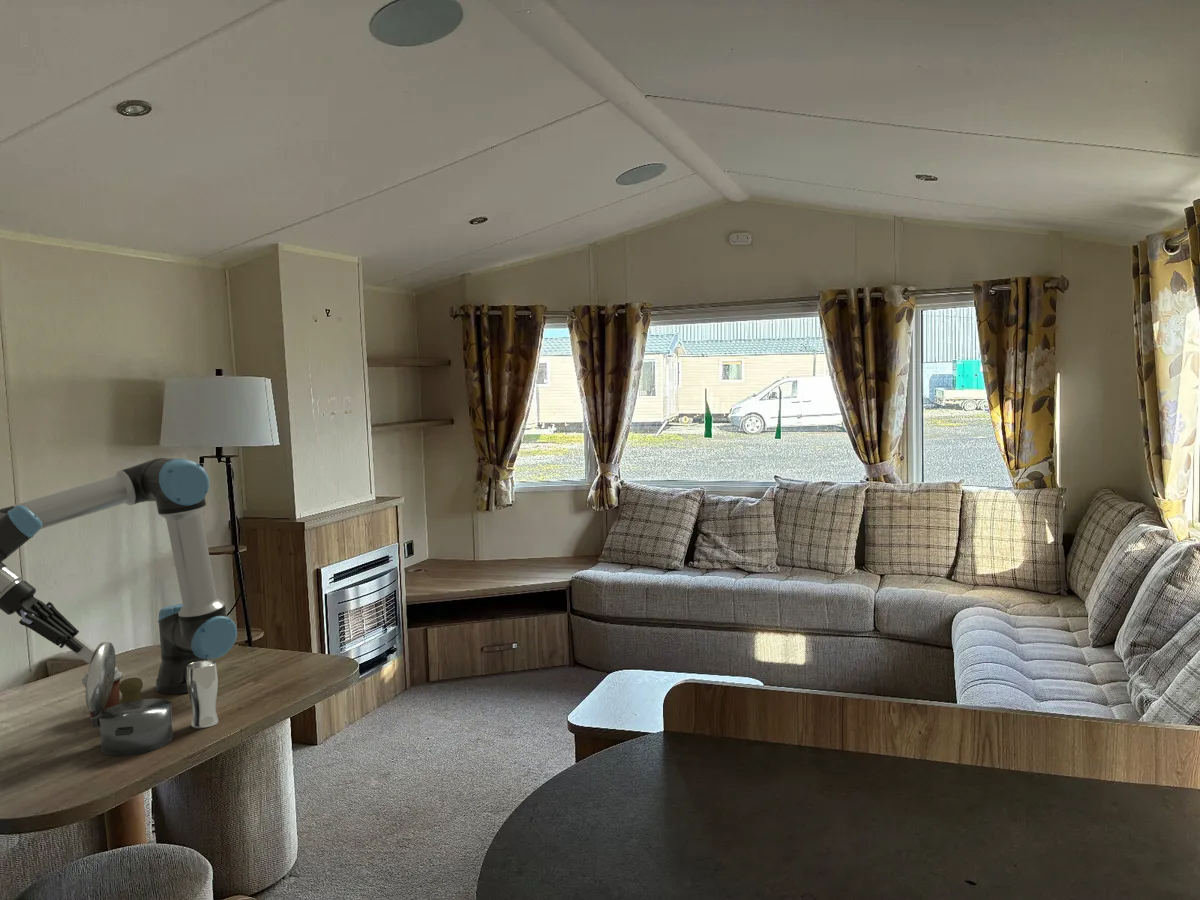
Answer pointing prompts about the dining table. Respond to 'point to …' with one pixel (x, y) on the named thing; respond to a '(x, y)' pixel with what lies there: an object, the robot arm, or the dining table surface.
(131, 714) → the cooker pot
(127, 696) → the cork
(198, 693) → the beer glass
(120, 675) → the coffee cup
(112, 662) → the lid
